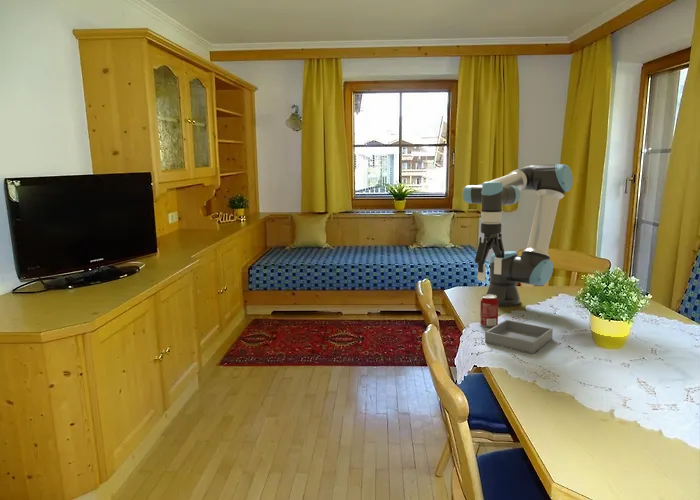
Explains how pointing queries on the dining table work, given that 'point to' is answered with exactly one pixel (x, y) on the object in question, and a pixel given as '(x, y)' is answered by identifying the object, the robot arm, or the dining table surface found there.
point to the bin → (519, 336)
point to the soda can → (489, 310)
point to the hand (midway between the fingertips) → (489, 277)
